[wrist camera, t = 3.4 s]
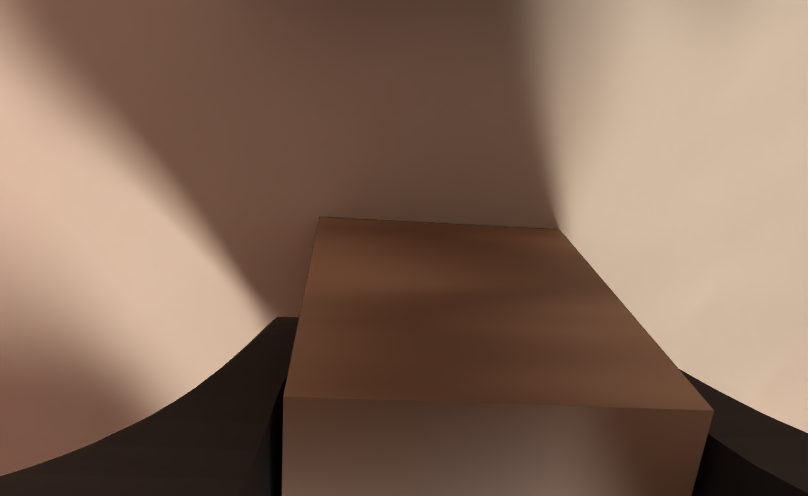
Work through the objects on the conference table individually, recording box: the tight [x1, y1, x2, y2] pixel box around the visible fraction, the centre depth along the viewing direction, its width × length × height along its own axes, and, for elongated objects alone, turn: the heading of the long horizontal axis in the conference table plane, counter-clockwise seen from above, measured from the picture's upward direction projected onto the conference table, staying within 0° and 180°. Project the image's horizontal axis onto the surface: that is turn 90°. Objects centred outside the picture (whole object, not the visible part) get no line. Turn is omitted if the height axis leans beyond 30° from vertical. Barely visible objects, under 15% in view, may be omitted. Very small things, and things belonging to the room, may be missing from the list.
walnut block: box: [282, 217, 714, 496], centre depth 11 cm, size 4×4×6 cm
